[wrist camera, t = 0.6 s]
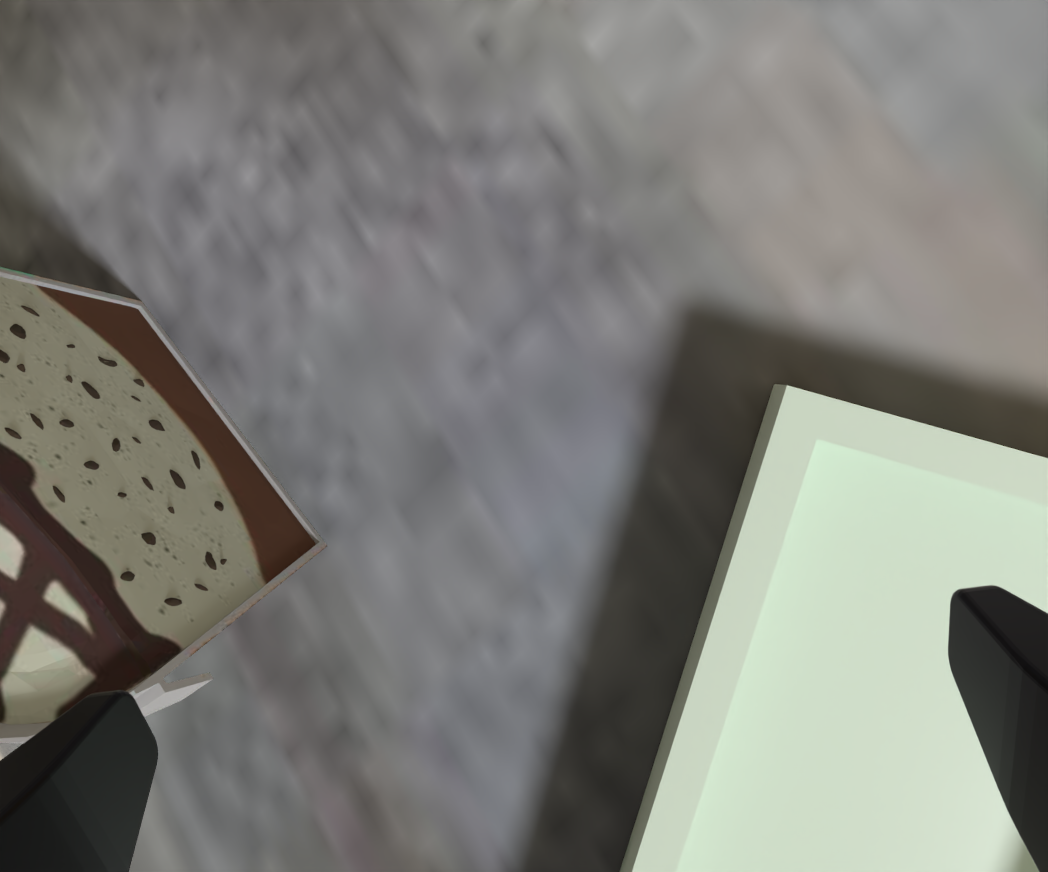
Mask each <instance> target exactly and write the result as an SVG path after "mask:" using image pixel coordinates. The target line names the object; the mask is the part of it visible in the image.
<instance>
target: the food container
mask: <svg viewBox="0 0 1048 872" xmlns="http://www.w3.org/2000/svg"><path fill="white" fill-rule="evenodd" d="M325 547H327V545H326V543H325V542H324V541H323V539H322V538H321V537H320V535H319V534H318V533H317V531H316V530H315V529H314V528H313V526H312V525H311V524H310V522H309V521H308V520H307V518H306V517H305V516H304V514H303V513H302V512H301V510H300V509H299V508H298V506H297V505H296V504H295V503H294V501H293V500H292V499H291V497H290V496H289V495H288V493H287V492H286V491H285V489H284V488H283V487H282V485H281V484H280V483H279V481H278V480H277V479H276V477H275V476H274V475H273V474H272V472H271V471H270V470H269V468H268V467H267V466H266V464H265V463H264V462H263V460H262V459H261V458H260V456H259V455H258V454H257V452H256V451H255V450H254V448H253V447H252V446H251V445H250V443H249V442H248V441H247V439H246V438H245V437H244V435H243V434H242V433H241V431H240V430H239V429H238V427H237V426H236V425H235V423H234V422H233V421H232V419H231V418H230V417H229V416H228V414H227V413H226V412H225V410H224V409H223V408H222V406H221V405H220V404H219V402H218V401H217V400H216V398H215V397H214V396H213V394H212V393H211V392H210V391H209V389H208V388H207V387H206V385H205V384H204V383H203V381H202V380H201V379H200V377H199V376H198V375H197V373H196V372H195V371H194V369H193V368H192V367H191V365H190V364H189V363H188V362H187V360H186V359H185V358H184V356H183V355H182V354H181V352H180V351H179V350H178V348H177V347H176V346H175V344H174V343H173V342H172V340H171V339H170V338H169V336H168V335H167V334H166V333H165V331H164V330H163V329H162V327H161V326H160V325H159V323H158V322H157V321H156V319H155V318H154V317H153V315H152V314H151V313H150V311H149V310H148V309H147V307H146V306H145V305H144V304H143V302H142V301H139V300H135V299H131V298H127V297H123V296H118V295H114V294H110V293H106V292H102V291H98V290H94V289H90V288H86V287H81V286H77V285H73V284H69V283H65V282H61V281H57V280H53V279H48V278H44V277H40V276H36V275H32V274H28V273H24V272H20V271H15V270H11V269H7V268H3V267H0V743H11V744H14V743H25V742H26V741H27V740H29V739H30V738H31V737H33V736H34V735H35V734H37V733H38V732H39V731H41V730H42V729H43V728H45V727H46V726H47V725H49V724H50V723H51V722H53V721H54V720H55V719H57V718H58V717H59V716H61V715H62V714H63V713H65V712H66V711H67V710H69V709H70V708H71V707H73V706H74V705H75V704H77V703H78V702H79V701H81V700H82V699H83V698H85V697H86V696H88V695H91V694H94V693H99V692H107V691H115V690H123V691H127V692H129V693H130V694H131V695H132V696H133V697H134V699H135V700H136V702H137V704H138V706H139V708H140V710H141V712H142V714H143V716H144V717H145V716H147V715H149V714H151V713H154V712H156V711H158V710H160V709H163V708H165V707H167V706H169V705H172V704H174V703H176V702H179V701H181V700H183V699H184V698H186V697H187V696H188V695H190V694H191V693H193V692H194V691H196V690H197V689H199V688H200V687H202V686H203V685H205V684H206V683H208V682H209V681H211V680H212V679H213V677H212V676H211V674H210V672H209V673H206V674H202V675H198V676H194V677H190V678H186V679H182V680H178V681H174V682H170V683H166V682H165V681H164V679H163V678H164V677H165V676H166V675H168V674H169V673H170V672H171V671H173V670H174V669H175V668H176V667H178V666H179V665H180V664H181V663H183V662H184V661H185V660H186V659H188V658H189V657H190V656H191V655H193V654H194V653H195V652H196V651H198V650H199V649H200V648H201V647H202V646H204V645H205V644H206V643H207V642H209V641H210V640H211V639H212V638H214V637H215V636H216V635H217V634H219V633H220V632H221V631H222V630H224V629H225V628H226V627H227V626H229V625H230V624H231V623H232V622H234V621H235V620H236V619H237V618H238V617H240V616H241V615H242V614H243V613H245V612H246V611H247V610H248V609H250V608H251V607H252V606H253V605H255V604H256V603H257V602H258V601H260V600H261V599H262V598H263V597H265V596H266V595H267V594H268V593H270V592H271V591H272V590H273V589H275V588H276V587H277V586H278V585H279V584H281V583H282V582H283V581H284V580H286V579H287V578H288V577H289V576H291V575H292V574H293V573H294V572H296V571H297V570H298V569H299V568H301V567H302V566H303V565H304V564H306V563H307V562H308V561H309V560H311V559H312V558H313V557H314V556H315V555H317V554H318V553H319V552H320V551H322V550H323V549H324V548H325Z"/></svg>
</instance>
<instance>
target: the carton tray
mask: <svg viewBox="0 0 1048 872" xmlns="http://www.w3.org/2000/svg"><path fill="white" fill-rule="evenodd" d="M987 585H995V586H999V587H1001V588H1003V589H1005V590H1007V591H1009V592H1010V593H1012V594H1014V595H1016V596H1018V597H1019V598H1021V599H1023V600H1025V601H1027V602H1028V603H1030V604H1032V605H1034V606H1036V607H1037V608H1039V609H1041V610H1043V611H1045V612H1046V613H1048V458H1045V457H1041V456H1038V455H1034V454H1031V453H1027V452H1024V451H1020V450H1016V449H1013V448H1009V447H1006V446H1002V445H999V444H995V443H991V442H988V441H984V440H981V439H977V438H974V437H970V436H966V435H963V434H959V433H956V432H952V431H949V430H945V429H941V428H938V427H934V426H931V425H927V424H924V423H920V422H916V421H913V420H909V419H906V418H902V417H899V416H895V415H891V414H888V413H884V412H881V411H877V410H874V409H870V408H866V407H863V406H859V405H856V404H852V403H849V402H845V401H841V400H838V399H834V398H831V397H827V396H824V395H820V394H816V393H813V392H809V391H806V390H802V389H799V388H795V387H792V386H788V385H780V384H774V386H773V389H772V392H771V395H770V399H769V402H768V405H767V408H766V411H765V414H764V417H763V421H762V424H761V427H760V430H759V433H758V436H757V440H756V443H755V446H754V449H753V452H752V455H751V458H750V462H749V465H748V468H747V471H746V474H745V477H744V481H743V484H742V487H741V490H740V493H739V496H738V499H737V503H736V506H735V509H734V512H733V515H732V518H731V522H730V525H729V528H728V531H727V534H726V537H725V541H724V544H723V547H722V550H721V553H720V556H719V559H718V563H717V566H716V569H715V572H714V575H713V578H712V582H711V585H710V588H709V591H708V594H707V597H706V600H705V604H704V607H703V610H702V613H701V616H700V619H699V623H698V626H697V629H696V632H695V635H694V638H693V641H692V645H691V648H690V651H689V654H688V657H687V660H686V664H685V667H684V670H683V673H682V676H681V679H680V682H679V686H678V689H677V692H676V695H675V698H674V701H673V705H672V708H671V711H670V714H669V717H668V720H667V723H666V727H665V730H664V733H663V736H662V739H661V742H660V746H659V749H658V752H657V755H656V758H655V761H654V765H653V768H652V771H651V774H650V777H649V780H648V783H647V787H646V790H645V793H644V796H643V799H642V802H641V806H640V809H639V812H638V815H637V818H636V821H635V824H634V828H633V831H632V834H631V837H630V840H629V843H628V847H627V850H626V853H625V856H624V859H623V862H622V865H621V869H620V872H1039V870H1038V869H1037V867H1036V865H1035V863H1034V861H1033V859H1032V857H1031V856H1030V854H1029V852H1028V850H1027V848H1026V846H1025V844H1024V843H1023V841H1022V839H1021V837H1020V835H1019V833H1018V831H1017V829H1016V827H1015V825H1014V823H1013V821H1012V819H1011V817H1010V815H1009V813H1008V811H1007V809H1006V806H1005V804H1004V802H1003V799H1002V797H1001V795H1000V792H999V790H998V787H997V785H996V782H995V780H994V777H993V775H992V772H991V770H990V767H989V765H988V762H987V760H986V757H985V755H984V752H983V750H982V747H981V745H980V742H979V740H978V737H977V735H976V732H975V730H974V727H973V725H972V722H971V720H970V717H969V715H968V712H967V710H966V707H965V705H964V702H963V700H962V697H961V695H960V692H959V690H958V687H957V685H956V682H955V680H954V677H953V675H952V672H951V668H950V664H949V659H948V636H949V616H950V601H951V597H952V595H953V593H954V592H955V591H956V590H958V589H962V588H970V587H978V586H987Z"/></svg>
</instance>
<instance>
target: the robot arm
mask: <svg viewBox="0 0 1048 872" xmlns="http://www.w3.org/2000/svg"><path fill="white" fill-rule="evenodd" d="M948 659H949V664H950V668H951V672H952V675H953V677H954V680H955V682H956V685H957V687H958V690H959V692H960V695H961V697H962V700H963V702H964V705H965V707H966V710H967V712H968V715H969V717H970V720H971V722H972V725H973V727H974V730H975V732H976V735H977V737H978V740H979V742H980V745H981V747H982V750H983V752H984V755H985V757H986V760H987V762H988V765H989V767H990V770H991V772H992V775H993V777H994V780H995V782H996V785H997V787H998V790H999V792H1000V795H1001V797H1002V799H1003V802H1004V804H1005V806H1006V809H1007V811H1008V813H1009V815H1010V817H1011V819H1012V821H1013V823H1014V825H1015V827H1016V829H1017V831H1018V833H1019V835H1020V837H1021V839H1022V841H1023V843H1024V844H1025V846H1026V848H1027V850H1028V852H1029V854H1030V856H1031V857H1032V859H1033V861H1034V863H1035V865H1036V867H1037V869H1038V870H1039V872H1048V613H1046V612H1045V611H1043V610H1041V609H1039V608H1037V607H1036V606H1034V605H1032V604H1030V603H1028V602H1027V601H1025V600H1023V599H1021V598H1019V597H1018V596H1016V595H1014V594H1012V593H1010V592H1009V591H1007V590H1005V589H1003V588H1001V587H999V586H995V585H987V586H978V587H970V588H962V589H958V590H956V591H955V592H954V593H953V595H952V597H951V601H950V616H949V636H948ZM157 759H158V747H157V743H156V740H155V737H154V735H153V733H152V731H151V729H150V727H149V726H148V724H147V722H146V720H145V718H144V716H143V714H142V712H141V710H140V708H139V706H138V704H137V702H136V700H135V699H134V697H133V696H132V695H131V694H130V693H129V692H127V691H123V690H115V691H107V692H99V693H94V694H91V695H88V696H86V697H85V698H83V699H82V700H81V701H79V702H78V703H77V704H75V705H74V706H73V707H71V708H70V709H69V710H67V711H66V712H65V713H63V714H62V715H61V716H59V717H58V718H57V719H55V720H54V721H53V722H51V723H50V724H49V725H47V726H46V727H45V728H43V729H42V730H41V731H39V732H38V733H37V734H35V735H34V736H33V737H31V738H30V739H29V740H27V741H26V742H25V743H23V744H22V745H21V746H19V747H18V748H17V749H15V750H14V751H13V752H11V753H10V754H9V755H7V756H6V757H5V758H3V759H2V760H1V761H0V872H129V868H130V865H131V861H132V857H133V853H134V849H135V845H136V842H137V838H138V834H139V830H140V826H141V823H142V819H143V815H144V811H145V807H146V803H147V800H148V796H149V792H150V788H151V784H152V780H153V777H154V773H155V769H156V765H157Z"/></svg>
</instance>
